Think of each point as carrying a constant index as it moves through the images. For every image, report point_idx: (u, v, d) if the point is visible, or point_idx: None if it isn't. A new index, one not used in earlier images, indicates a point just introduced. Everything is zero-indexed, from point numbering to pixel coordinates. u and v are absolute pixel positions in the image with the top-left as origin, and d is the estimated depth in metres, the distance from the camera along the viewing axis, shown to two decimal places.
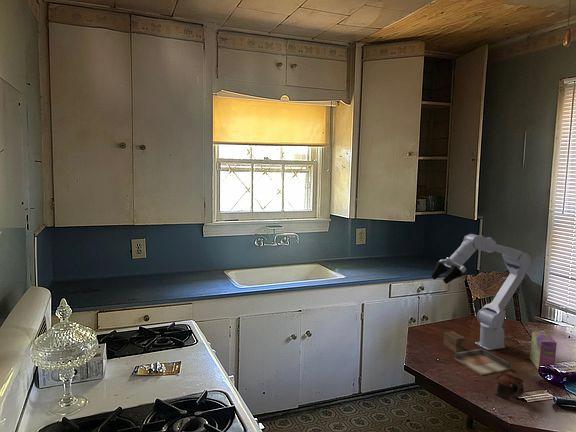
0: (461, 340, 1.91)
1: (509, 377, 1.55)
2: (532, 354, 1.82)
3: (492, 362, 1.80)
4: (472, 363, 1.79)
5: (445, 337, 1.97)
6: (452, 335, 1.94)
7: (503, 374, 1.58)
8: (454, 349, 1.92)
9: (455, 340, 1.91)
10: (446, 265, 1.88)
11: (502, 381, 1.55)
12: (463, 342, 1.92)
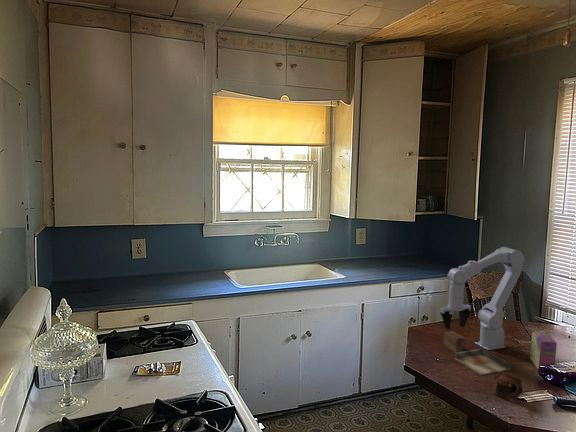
0: (461, 340, 1.91)
1: (508, 377, 1.55)
2: (532, 354, 1.82)
3: (492, 362, 1.80)
4: (472, 363, 1.79)
5: (445, 336, 1.97)
6: (452, 335, 1.94)
7: (502, 374, 1.58)
8: (454, 349, 1.92)
9: (455, 340, 1.91)
10: None
11: (501, 381, 1.55)
12: (463, 342, 1.92)
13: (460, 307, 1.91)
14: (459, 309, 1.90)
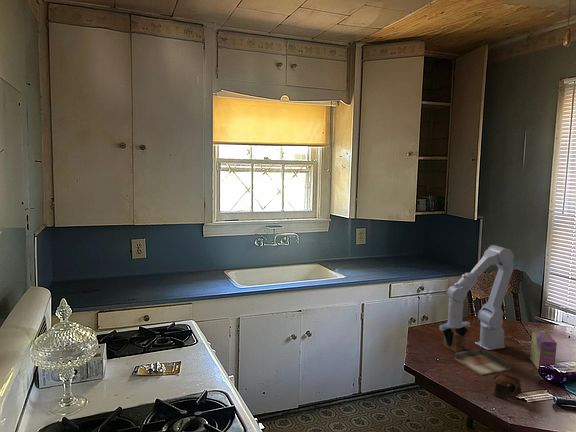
0: (461, 340, 1.91)
1: (506, 377, 1.55)
2: (532, 354, 1.82)
3: (492, 362, 1.80)
4: (472, 363, 1.79)
5: None
6: None
7: (500, 374, 1.58)
8: (454, 349, 1.92)
9: (455, 340, 1.91)
10: None
11: (499, 381, 1.55)
12: (463, 342, 1.92)
13: (459, 324, 1.91)
14: (458, 326, 1.91)
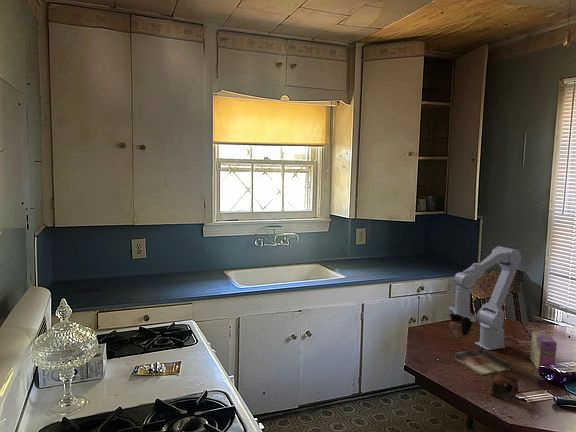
0: None
1: (503, 377, 1.56)
2: (532, 354, 1.82)
3: (492, 362, 1.80)
4: (472, 363, 1.79)
5: (459, 329, 1.87)
6: None
7: (497, 374, 1.58)
8: (470, 334, 1.90)
9: (471, 325, 1.89)
10: None
11: (496, 381, 1.56)
12: None
13: None
14: None
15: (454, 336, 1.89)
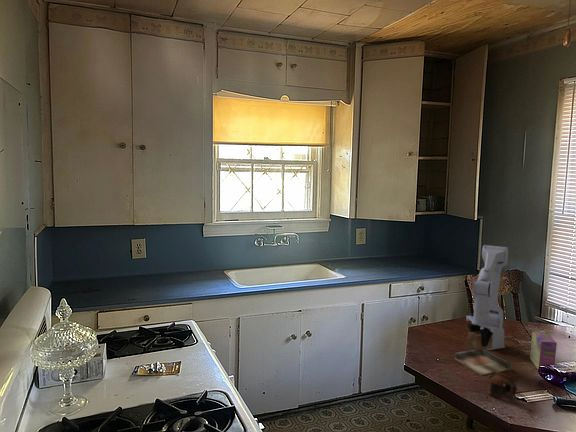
0: None
1: (502, 377, 1.56)
2: (532, 354, 1.82)
3: (492, 362, 1.80)
4: (472, 363, 1.79)
5: (478, 340, 1.77)
6: None
7: (496, 374, 1.58)
8: (490, 346, 1.79)
9: None
10: None
11: (495, 381, 1.56)
12: None
13: None
14: None
15: (473, 347, 1.78)
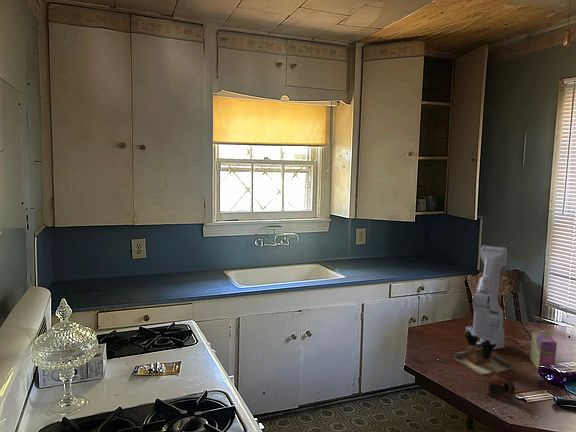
0: None
1: (500, 377, 1.56)
2: (532, 354, 1.82)
3: (492, 362, 1.80)
4: (472, 363, 1.79)
5: (477, 353, 1.78)
6: None
7: (494, 374, 1.58)
8: (489, 359, 1.80)
9: None
10: None
11: (493, 381, 1.56)
12: None
13: None
14: None
15: (472, 361, 1.79)
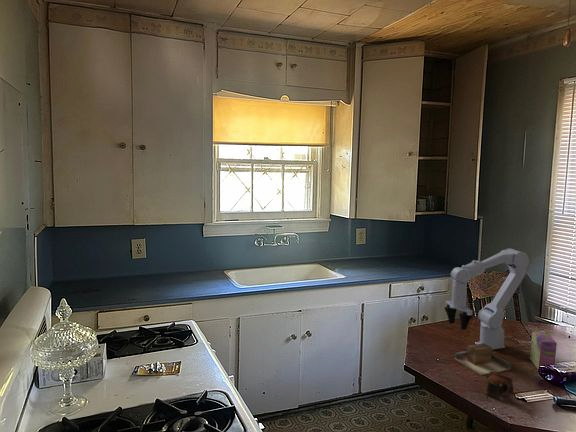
0: None
1: (498, 377, 1.56)
2: (532, 354, 1.82)
3: (492, 362, 1.80)
4: (472, 363, 1.79)
5: (477, 353, 1.78)
6: (483, 347, 1.79)
7: (493, 374, 1.58)
8: (489, 359, 1.80)
9: (490, 349, 1.80)
10: None
11: (492, 381, 1.56)
12: None
13: None
14: None
15: (472, 361, 1.79)
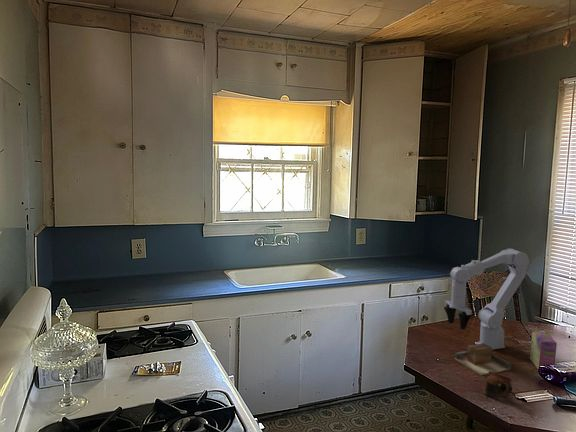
0: None
1: (497, 377, 1.56)
2: (532, 354, 1.82)
3: (492, 362, 1.80)
4: (472, 363, 1.79)
5: (477, 353, 1.78)
6: (483, 347, 1.79)
7: (491, 373, 1.58)
8: (489, 359, 1.80)
9: (490, 349, 1.80)
10: None
11: (490, 381, 1.56)
12: None
13: None
14: None
15: (472, 361, 1.79)
